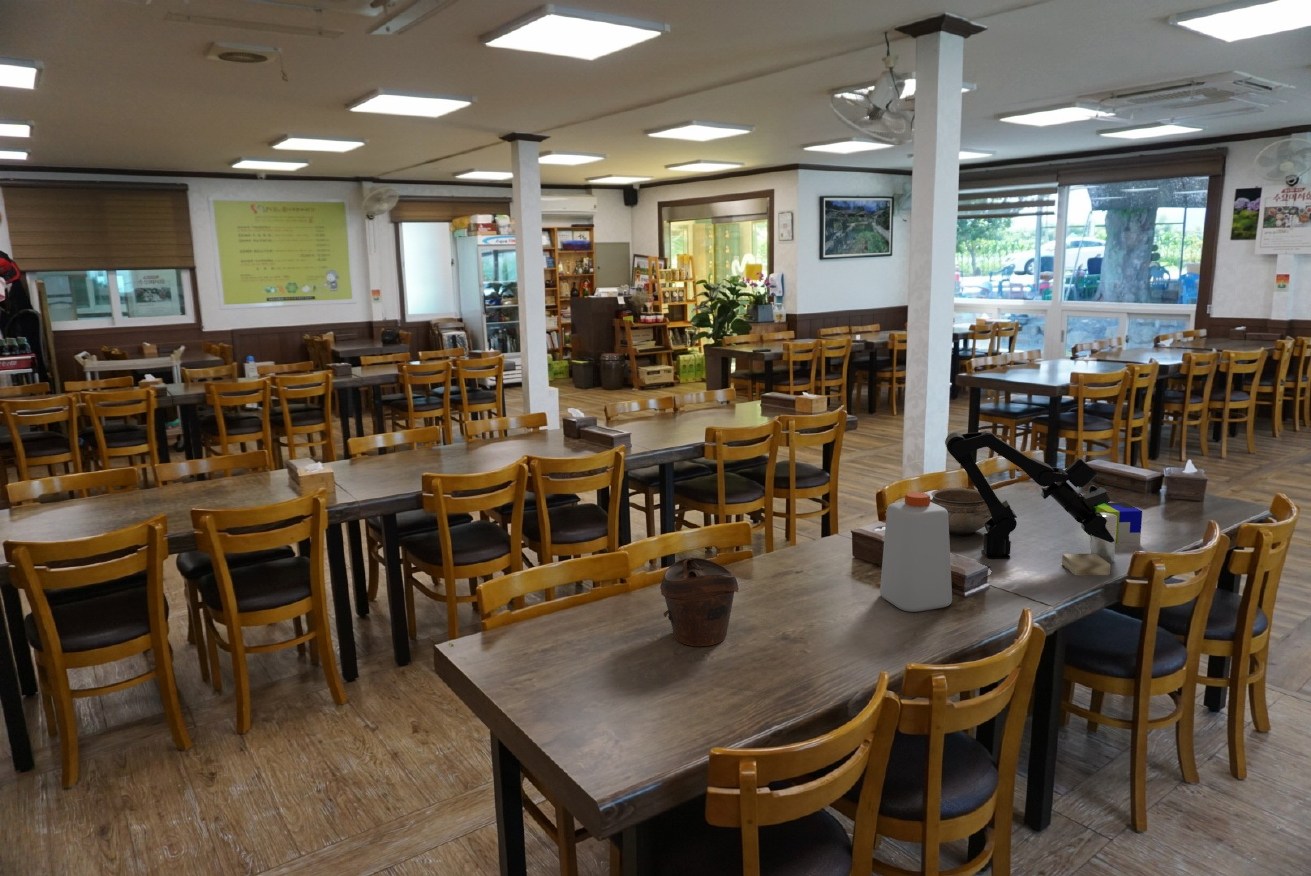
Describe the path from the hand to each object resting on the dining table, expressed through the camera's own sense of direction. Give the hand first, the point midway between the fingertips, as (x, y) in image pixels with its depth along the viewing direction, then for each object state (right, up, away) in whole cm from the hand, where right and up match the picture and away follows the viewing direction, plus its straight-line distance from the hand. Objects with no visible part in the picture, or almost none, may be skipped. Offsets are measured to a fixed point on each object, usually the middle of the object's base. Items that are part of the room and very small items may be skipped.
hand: (1109, 537), depth 240 cm
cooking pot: (-31, -2, +31) cm, 44 cm away
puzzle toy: (+12, -3, +19) cm, 23 cm away
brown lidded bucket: (-118, -19, -38) cm, 125 cm away
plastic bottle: (-62, -14, -23) cm, 67 cm away
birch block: (-10, -8, -6) cm, 14 cm away
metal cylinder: (-1, -7, +2) cm, 7 cm away
